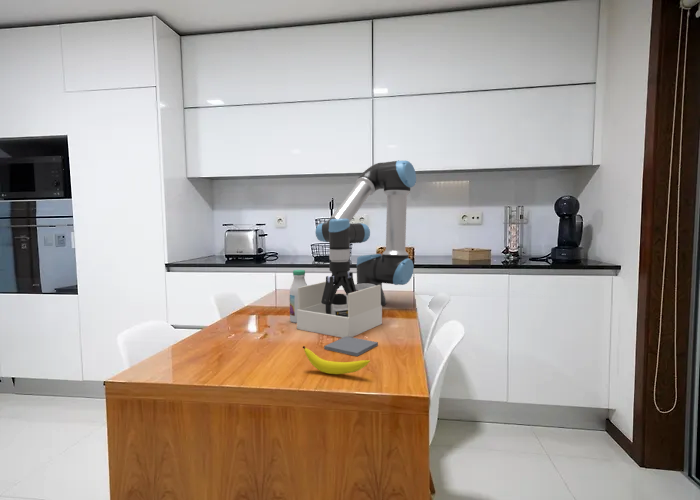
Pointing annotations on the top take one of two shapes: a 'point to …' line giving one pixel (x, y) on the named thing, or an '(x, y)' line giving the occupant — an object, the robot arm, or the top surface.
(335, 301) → the medicine bottle
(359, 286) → the plastic cup
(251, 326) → the top surface
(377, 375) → the top surface
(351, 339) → the mat
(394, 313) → the top surface
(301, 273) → the milk bottle
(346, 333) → the carton
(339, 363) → the banana
